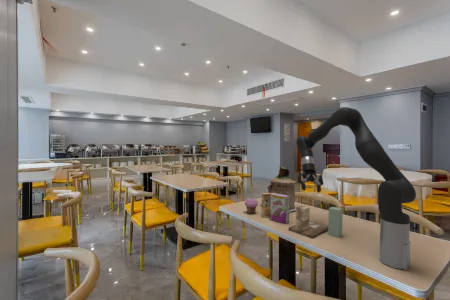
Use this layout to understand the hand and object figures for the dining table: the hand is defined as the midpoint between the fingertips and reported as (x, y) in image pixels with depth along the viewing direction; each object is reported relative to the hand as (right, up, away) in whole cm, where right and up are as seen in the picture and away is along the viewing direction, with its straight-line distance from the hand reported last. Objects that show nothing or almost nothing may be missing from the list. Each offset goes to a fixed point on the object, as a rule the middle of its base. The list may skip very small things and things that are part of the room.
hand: (311, 191), depth 120 cm
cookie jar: (-5, -21, +43) cm, 49 cm away
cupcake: (-30, -21, +29) cm, 47 cm away
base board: (-1, -22, 0) cm, 22 cm away
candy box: (-19, -21, +23) cm, 37 cm away
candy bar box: (-15, -21, +14) cm, 29 cm away
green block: (+10, -22, -6) cm, 25 cm away
